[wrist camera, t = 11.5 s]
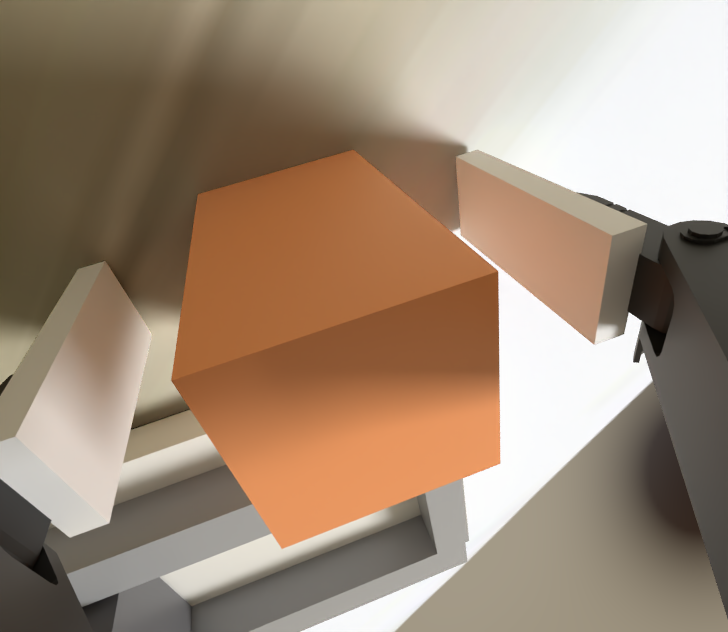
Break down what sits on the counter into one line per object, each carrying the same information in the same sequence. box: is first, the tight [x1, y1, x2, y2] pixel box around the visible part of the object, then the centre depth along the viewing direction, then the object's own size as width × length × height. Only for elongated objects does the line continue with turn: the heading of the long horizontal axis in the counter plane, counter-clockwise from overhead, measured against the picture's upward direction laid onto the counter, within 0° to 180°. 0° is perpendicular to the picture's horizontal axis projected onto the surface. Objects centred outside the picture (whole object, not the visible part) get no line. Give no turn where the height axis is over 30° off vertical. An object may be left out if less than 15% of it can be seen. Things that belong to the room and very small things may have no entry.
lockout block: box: [171, 150, 500, 549], centre depth 10 cm, size 5×5×8 cm
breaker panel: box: [44, 410, 469, 632], centre depth 18 cm, size 24×14×4 cm, turn 101°
